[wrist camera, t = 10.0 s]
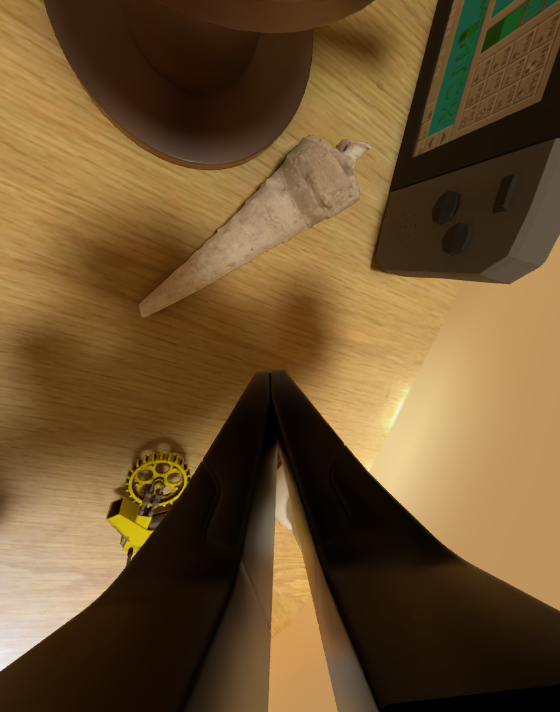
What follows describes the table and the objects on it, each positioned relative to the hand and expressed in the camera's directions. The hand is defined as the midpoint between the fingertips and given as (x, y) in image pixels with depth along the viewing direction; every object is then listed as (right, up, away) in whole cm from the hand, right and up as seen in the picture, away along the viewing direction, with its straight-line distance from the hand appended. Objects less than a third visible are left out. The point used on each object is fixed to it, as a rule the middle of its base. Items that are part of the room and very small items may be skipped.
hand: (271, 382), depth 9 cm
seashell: (-2, +8, +10) cm, 13 cm away
